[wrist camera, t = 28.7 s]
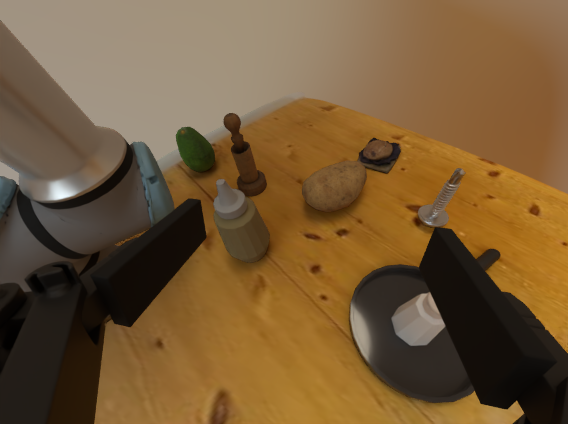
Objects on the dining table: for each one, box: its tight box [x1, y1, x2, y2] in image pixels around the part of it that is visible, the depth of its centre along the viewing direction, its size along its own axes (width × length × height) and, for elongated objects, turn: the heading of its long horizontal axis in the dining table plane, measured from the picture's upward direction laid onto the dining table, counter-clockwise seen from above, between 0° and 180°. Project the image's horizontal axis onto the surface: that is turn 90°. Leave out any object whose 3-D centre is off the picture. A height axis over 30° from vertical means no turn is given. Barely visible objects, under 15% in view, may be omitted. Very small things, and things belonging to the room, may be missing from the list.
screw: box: [418, 168, 465, 228], centre depth 38 cm, size 13×5×5 cm
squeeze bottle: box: [213, 179, 270, 263], centre depth 38 cm, size 8×8×18 cm
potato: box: [302, 161, 367, 212], centre depth 46 cm, size 10×14×8 cm
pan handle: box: [476, 249, 500, 270], centre depth 35 cm, size 11×2×2 cm, turn 122°
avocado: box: [176, 127, 215, 172], centre depth 57 cm, size 8×8×12 cm
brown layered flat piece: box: [357, 138, 401, 173], centre depth 55 cm, size 11×8×4 cm
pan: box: [349, 264, 474, 403], centre depth 33 cm, size 17×17×2 cm
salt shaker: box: [391, 292, 445, 346], centre depth 29 cm, size 5×5×11 cm
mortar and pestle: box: [224, 113, 267, 196], centre depth 48 cm, size 7×6×18 cm
